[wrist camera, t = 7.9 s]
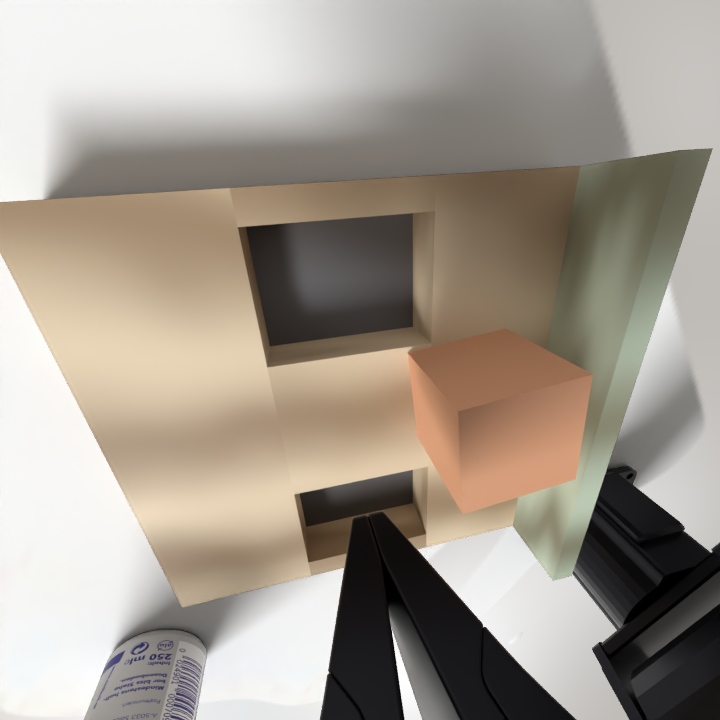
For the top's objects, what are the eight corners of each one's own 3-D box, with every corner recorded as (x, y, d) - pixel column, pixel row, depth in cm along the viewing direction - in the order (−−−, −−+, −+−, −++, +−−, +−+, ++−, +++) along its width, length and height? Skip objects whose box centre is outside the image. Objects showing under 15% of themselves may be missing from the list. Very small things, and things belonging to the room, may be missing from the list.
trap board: (503, 488, 20) (571, 575, 15) (195, 559, 17) (159, 692, 13) (553, 172, 13) (712, 148, 8) (40, 205, 10) (-182, 199, 5)
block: (503, 412, 14) (575, 479, 11) (417, 436, 14) (462, 514, 10) (506, 328, 13) (593, 374, 9) (407, 353, 12) (458, 411, 9)
